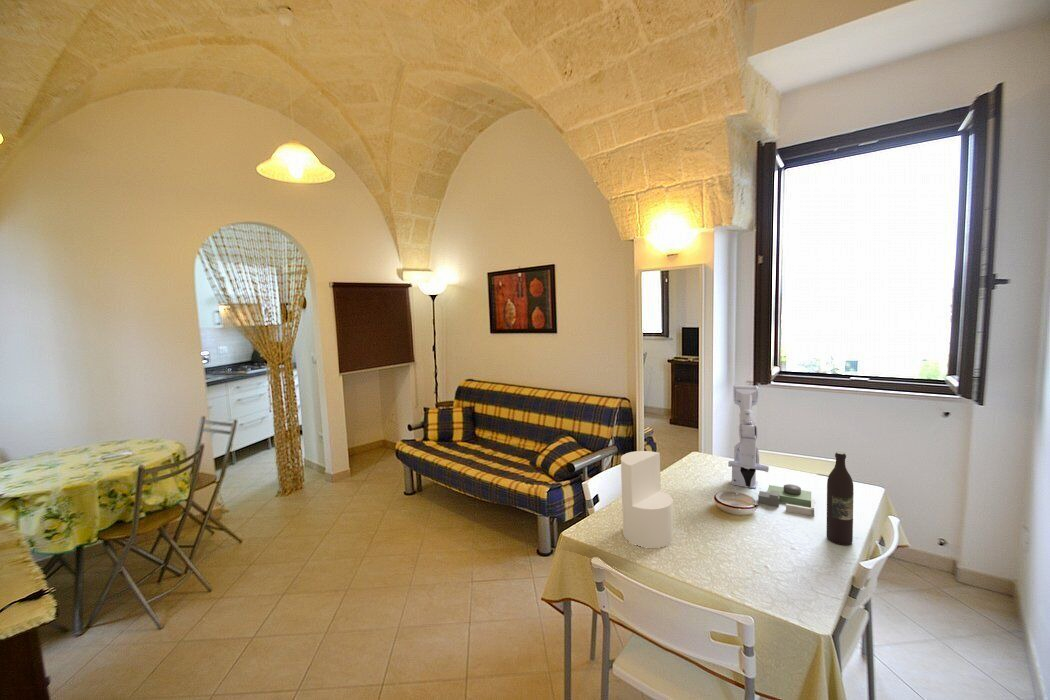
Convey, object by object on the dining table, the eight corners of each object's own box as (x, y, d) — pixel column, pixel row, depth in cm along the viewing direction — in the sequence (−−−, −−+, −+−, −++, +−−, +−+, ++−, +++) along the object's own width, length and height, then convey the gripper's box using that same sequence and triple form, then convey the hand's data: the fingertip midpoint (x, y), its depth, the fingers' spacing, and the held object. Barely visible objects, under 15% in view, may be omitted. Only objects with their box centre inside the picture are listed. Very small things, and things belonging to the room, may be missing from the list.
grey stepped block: (758, 504, 172) (758, 492, 172) (759, 499, 176) (759, 488, 176) (778, 507, 168) (778, 496, 168) (779, 502, 172) (779, 491, 172)
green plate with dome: (765, 507, 169) (765, 496, 168) (769, 490, 183) (769, 480, 183) (814, 516, 160) (814, 504, 159) (814, 498, 174) (814, 487, 174)
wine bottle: (828, 543, 142) (829, 455, 139) (824, 533, 148) (825, 448, 145) (854, 547, 139) (856, 457, 136) (850, 537, 145) (851, 450, 142)
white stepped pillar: (613, 535, 154) (610, 459, 151) (641, 518, 165) (639, 447, 162) (655, 554, 140) (653, 472, 138) (683, 535, 151) (681, 458, 149)
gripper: (726, 453, 175) (727, 485, 176) (767, 459, 167) (767, 492, 168) (729, 448, 181) (730, 480, 182) (769, 453, 173) (769, 486, 174)
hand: (748, 485), depth 176 cm, fingers closed
